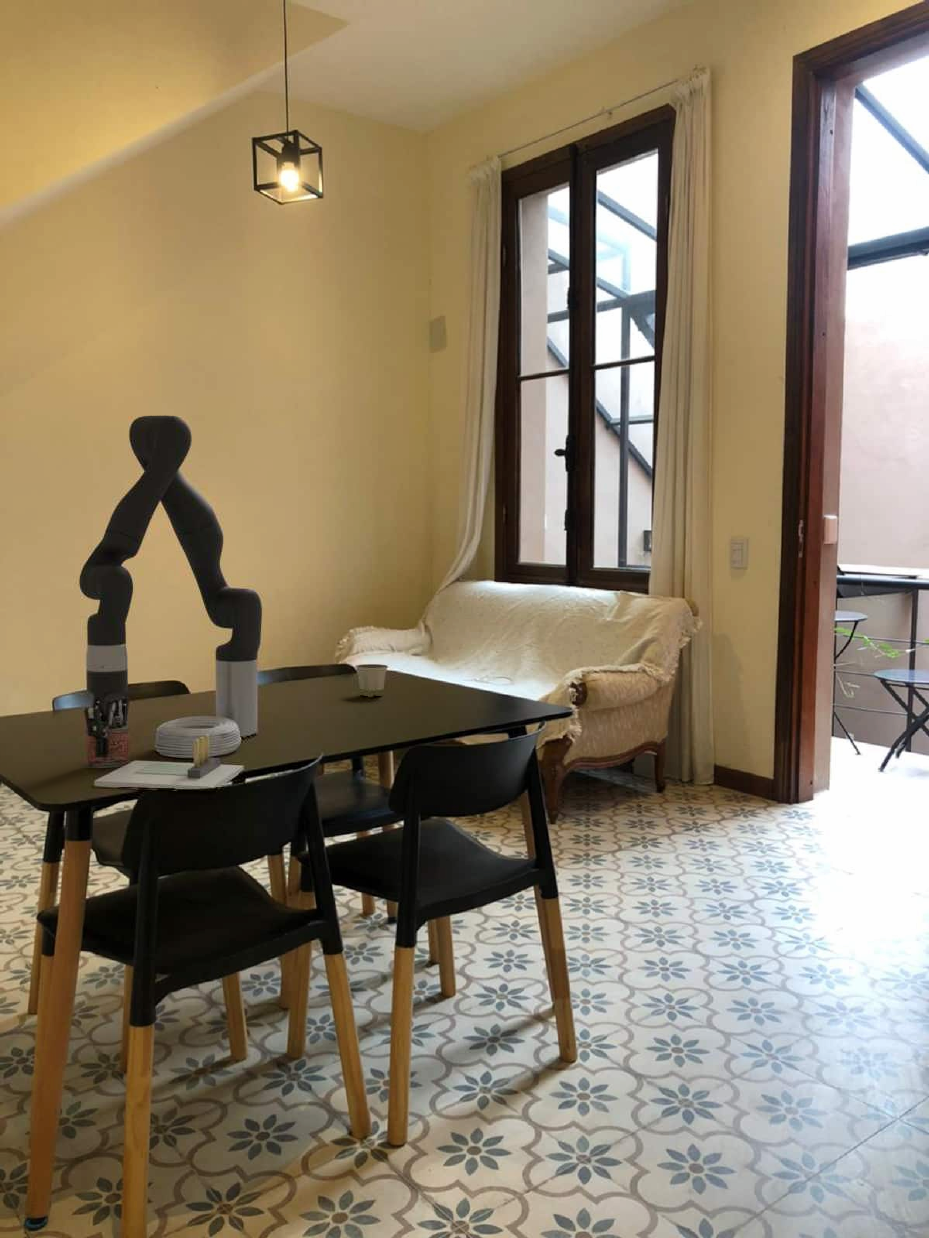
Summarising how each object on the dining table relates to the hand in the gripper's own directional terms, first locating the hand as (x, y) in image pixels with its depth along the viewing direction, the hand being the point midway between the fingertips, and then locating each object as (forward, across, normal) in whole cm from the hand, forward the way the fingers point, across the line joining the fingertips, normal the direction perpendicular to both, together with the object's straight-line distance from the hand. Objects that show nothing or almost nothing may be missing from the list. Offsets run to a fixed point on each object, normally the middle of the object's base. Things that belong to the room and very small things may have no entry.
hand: (108, 753), depth 189 cm
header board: (+2, -7, -16) cm, 18 cm away
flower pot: (+3, +92, -33) cm, 97 cm away
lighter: (+2, 0, 0) cm, 2 cm away
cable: (+3, +16, -12) cm, 20 cm away
